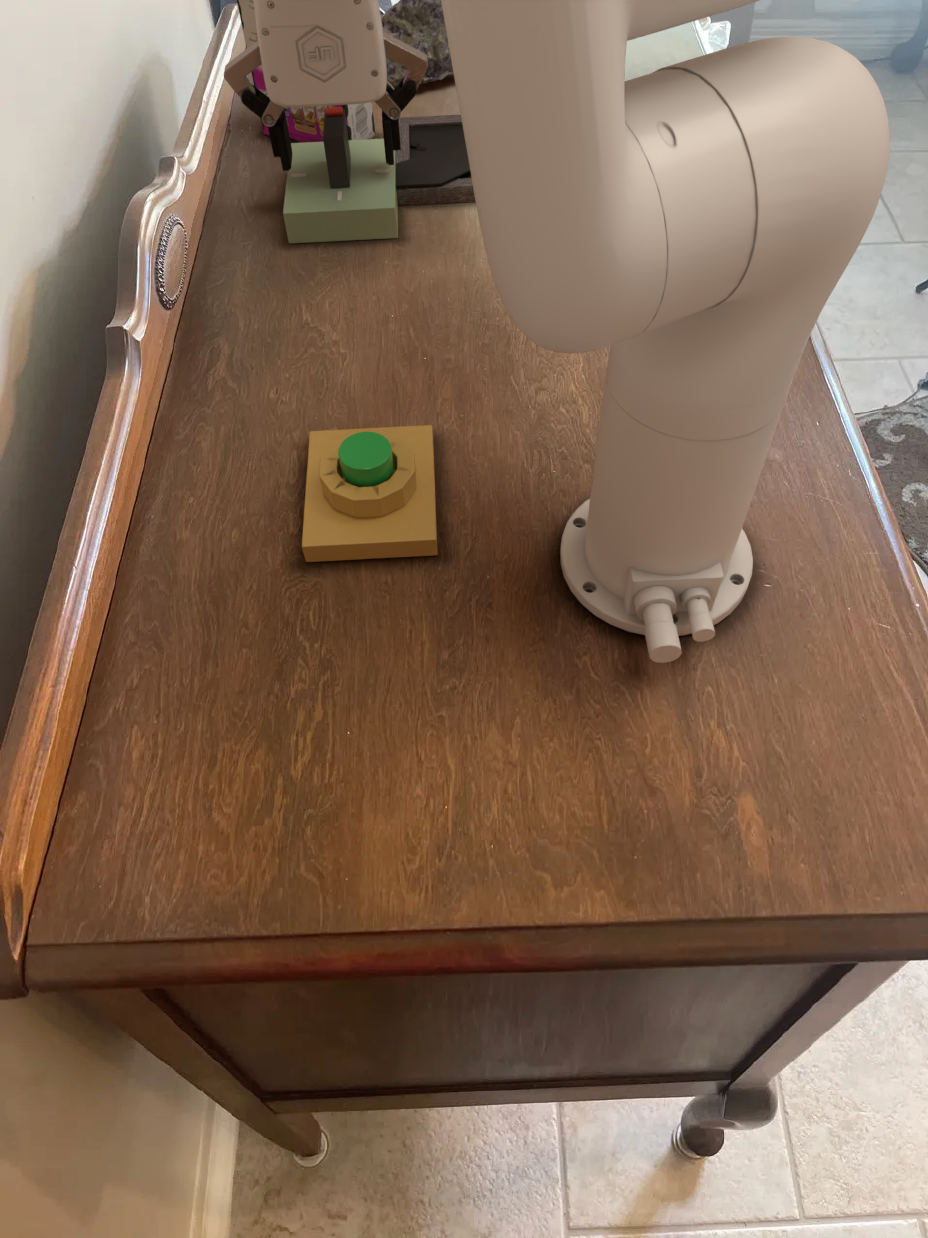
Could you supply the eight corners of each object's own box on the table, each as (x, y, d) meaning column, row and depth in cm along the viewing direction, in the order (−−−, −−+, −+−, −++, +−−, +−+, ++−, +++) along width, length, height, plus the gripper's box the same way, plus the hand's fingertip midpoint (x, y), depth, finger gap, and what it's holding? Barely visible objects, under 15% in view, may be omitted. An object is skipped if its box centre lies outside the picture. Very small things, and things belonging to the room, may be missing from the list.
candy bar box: (378, 135, 95) (359, -51, 81) (352, 159, 92) (329, -30, 79) (288, 112, 98) (255, -71, 84) (261, 134, 95) (223, -51, 82)
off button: (394, 486, 62) (391, 467, 61) (340, 488, 62) (337, 470, 61) (393, 448, 64) (391, 429, 63) (342, 451, 64) (338, 432, 63)
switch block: (437, 555, 63) (435, 521, 60) (305, 562, 62) (296, 528, 60) (433, 441, 69) (430, 405, 66) (313, 447, 69) (305, 412, 66)
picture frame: (397, 205, 87) (587, 195, 87) (396, 185, 85) (588, 175, 86) (397, 132, 95) (571, 124, 95) (395, 113, 93) (572, 104, 93)
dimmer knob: (350, 187, 84) (343, 133, 80) (330, 188, 84) (322, 135, 80) (350, 158, 86) (344, 105, 82) (331, 159, 86) (324, 106, 82)
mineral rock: (363, 100, 99) (351, -5, 91) (367, 54, 105) (356, -49, 97) (483, 96, 99) (482, -10, 90) (479, 49, 105) (478, -54, 97)
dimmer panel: (398, 238, 84) (395, 205, 81) (288, 243, 84) (282, 211, 81) (397, 167, 91) (394, 135, 88) (296, 172, 91) (290, 140, 88)
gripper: (188, -37, 68) (240, 188, 82) (423, -50, 68) (435, 176, 82) (199, -76, 72) (247, 144, 86) (420, -88, 72) (432, 133, 86)
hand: (339, 159), depth 84 cm, fingers open, 9 cm apart
